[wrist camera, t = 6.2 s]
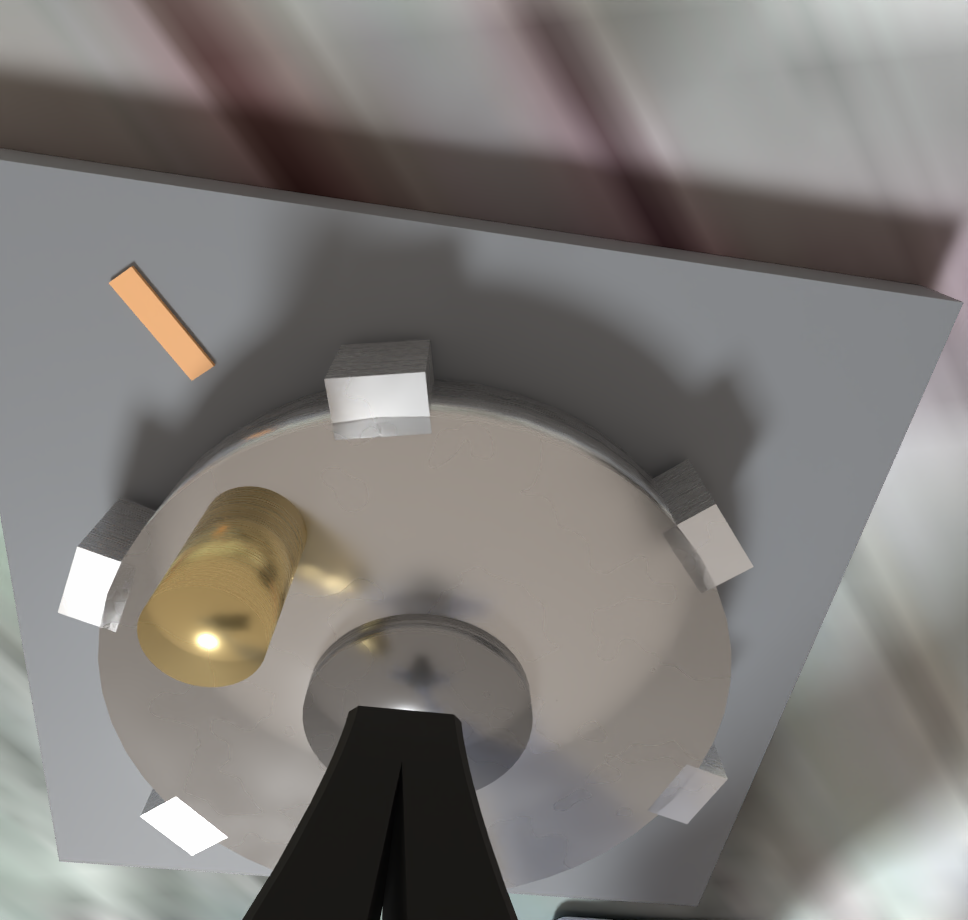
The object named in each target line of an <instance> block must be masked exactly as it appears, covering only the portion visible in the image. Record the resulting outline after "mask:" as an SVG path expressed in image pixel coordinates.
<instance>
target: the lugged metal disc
mask: <svg viewBox="0 0 968 920" xmlns="http://www.w3.org/2000/svg"><path fill="white" fill-rule="evenodd" d="M324 380H325V386H326V391H322V392H318V393H314V394H311V395H307V396H304V397H302V398H299V399H297V400H294V401H292V402H289V403H287V404H284V405H282V406H280V407H277V408H275V409H272V410H270V411H267V412H266V413H264V414H262V415H260V416H259V417H257V418H255V419H254V420H252V421H250V422H248V423H247V424H245V425H243V426H242V427H240V428H238V429H236V430H235V431H233V432H232V433H230V434H229V435H228V436H227V437H225V438H224V439H223V440H221V441H220V442H219V443H218V444H216V445H215V446H214V447H213V448H211V449H210V450H209V451H208V452H206V453H205V454H204V455H203V456H202V457H201V458H200V459H199V460H198V461H197V462H196V463H195V464H194V465H193V466H192V468H191V469H190V470H189V471H188V472H187V473H186V474H185V475H184V476H183V477H182V478H181V479H180V481H179V482H178V483H177V484H176V485H175V487H174V488H173V489H172V491H171V492H170V493H169V495H168V496H167V497H166V499H165V500H164V501H163V503H162V504H161V505H160V507H159V508H158V509H157V511H156V510H154V509H151V508H148V507H146V506H143V505H140V504H138V503H135V502H132V501H130V500H127V499H124V498H122V497H120V498H119V499H118V500H117V501H116V503H115V504H114V505H113V506H112V507H111V508H110V510H109V511H108V512H107V513H106V514H105V515H104V516H103V518H102V519H101V520H100V521H99V522H98V523H97V524H96V526H95V527H94V528H93V529H92V530H91V531H90V532H89V534H88V535H87V536H86V537H85V538H84V539H83V541H82V542H81V543H80V544H79V545H78V546H77V549H76V552H75V556H74V559H73V563H72V566H71V569H70V573H69V576H68V579H67V583H66V586H65V590H64V593H63V596H62V600H61V603H60V606H59V610H58V613H60V614H63V615H66V616H69V617H72V618H75V619H78V620H81V621H84V622H87V623H90V624H93V625H96V626H99V646H98V665H99V673H100V680H101V688H102V694H103V697H104V700H105V703H106V707H107V710H108V713H109V716H110V720H111V723H112V725H113V727H114V729H115V731H116V733H117V735H118V737H119V739H120V741H121V743H122V745H123V747H124V749H125V751H126V753H127V754H128V756H129V757H130V759H131V760H132V762H133V763H134V764H135V766H136V767H137V769H138V770H139V772H140V773H141V775H142V776H143V778H144V779H145V780H146V781H147V782H148V783H149V784H150V785H151V787H152V788H153V789H152V791H151V794H150V796H149V798H148V800H147V802H146V805H145V807H144V809H143V811H142V813H141V816H140V817H142V818H143V819H144V820H146V821H147V822H148V823H150V824H151V825H152V826H154V827H155V828H156V829H158V830H159V831H160V832H162V833H163V834H164V835H166V836H167V837H168V838H170V839H171V840H172V841H174V842H175V843H176V844H178V845H179V846H180V847H182V848H183V849H184V850H186V851H187V852H188V853H190V854H191V855H194V854H196V853H198V852H200V851H202V850H204V849H205V848H207V847H209V846H211V845H213V844H215V843H219V844H221V845H223V846H225V847H226V848H228V849H230V850H232V851H234V852H235V853H237V854H239V855H241V856H243V857H245V858H246V859H248V860H251V861H253V862H255V863H258V864H260V865H262V866H265V867H267V868H269V869H272V870H273V869H274V868H275V866H276V864H277V862H278V861H279V859H280V857H281V855H282V854H283V852H284V850H285V848H286V846H287V844H288V843H289V841H290V839H291V837H292V835H293V834H294V832H295V830H296V828H297V826H298V824H299V823H300V821H301V819H302V817H303V815H304V813H305V812H306V810H307V808H308V806H309V804H310V802H311V800H312V798H313V796H314V794H315V792H316V790H317V788H318V786H319V784H320V782H321V780H322V778H323V776H324V774H325V772H326V770H327V768H328V765H329V763H330V761H331V759H332V756H333V754H334V752H335V749H336V747H337V744H338V742H339V739H340V737H341V734H342V732H343V729H344V726H345V723H346V719H347V716H348V713H349V711H351V710H352V709H354V708H355V707H357V706H369V707H380V708H391V709H402V710H413V711H424V712H435V713H446V714H454V715H455V716H456V717H457V718H458V719H459V720H460V721H461V722H462V731H463V738H464V743H465V749H466V754H467V759H468V763H469V768H470V772H471V776H472V780H473V784H474V788H475V791H476V795H477V799H478V802H479V806H480V809H481V813H482V817H483V820H484V823H485V826H486V830H487V833H488V836H489V839H490V842H491V845H492V848H493V851H494V854H495V857H496V860H497V863H498V866H499V869H500V871H501V874H502V877H503V880H504V883H505V886H506V889H507V888H513V887H517V886H520V885H524V884H527V883H531V882H534V881H538V880H541V879H545V878H548V877H550V876H553V875H556V874H558V873H561V872H564V871H566V870H569V869H571V868H574V867H577V866H579V865H581V864H583V863H585V862H587V861H589V860H591V859H593V858H595V857H597V856H599V855H601V854H603V853H605V852H607V851H608V850H610V849H611V848H613V847H615V846H616V845H618V844H619V843H621V842H623V841H624V840H626V839H627V838H629V837H630V836H632V835H634V834H635V833H636V832H637V831H639V830H640V829H641V828H642V827H644V826H645V825H646V824H647V823H649V822H650V821H651V820H652V819H654V818H655V817H656V816H657V815H661V816H664V817H667V818H670V819H673V820H676V821H679V822H682V823H685V824H688V823H689V822H690V820H691V819H692V818H693V817H694V816H695V815H696V814H697V813H698V812H699V810H700V809H701V808H702V807H703V806H704V805H705V804H706V803H707V802H708V800H709V799H710V798H711V797H712V796H713V795H714V794H715V793H716V792H717V790H718V789H719V788H720V787H721V786H722V785H723V784H724V783H725V782H726V781H727V779H728V778H727V776H726V773H725V770H724V768H723V765H722V763H721V760H720V757H719V755H718V752H717V750H716V747H715V744H714V739H715V737H716V734H717V731H718V729H719V726H720V723H721V721H722V718H723V715H724V713H725V708H726V703H727V698H728V693H729V688H730V683H731V645H730V638H729V631H728V624H727V618H726V615H725V612H724V609H723V606H722V603H721V600H720V597H719V594H718V591H717V588H716V586H717V585H719V584H721V583H723V582H725V581H727V580H729V579H731V578H733V577H735V576H737V575H739V574H741V573H743V572H745V571H747V570H749V569H750V568H752V567H754V566H753V565H752V563H751V561H750V560H749V558H748V556H747V555H746V553H745V552H744V550H743V548H742V547H741V545H740V543H739V542H738V540H737V538H736V537H735V535H734V533H733V532H732V530H731V528H730V527H729V525H728V523H727V522H726V520H725V518H724V517H723V515H722V513H721V512H720V510H719V508H718V507H717V505H716V503H715V502H714V500H713V499H712V497H711V495H710V494H709V492H708V491H707V489H706V487H705V486H704V484H703V482H702V481H701V479H700V478H699V476H698V474H697V473H696V471H695V470H694V468H693V466H692V465H691V463H690V461H689V460H688V459H687V460H685V461H683V462H682V463H680V464H678V465H676V466H674V467H673V468H671V469H669V470H667V471H666V472H664V473H662V474H660V475H658V476H657V477H655V478H653V477H652V476H651V475H650V474H649V473H648V472H647V471H646V470H645V469H644V468H643V467H642V466H641V465H640V464H639V463H637V462H636V461H635V460H634V459H633V458H632V457H631V456H630V455H629V454H628V453H627V452H626V451H625V450H623V449H622V448H621V447H619V446H618V445H617V444H615V443H614V442H613V441H611V440H610V439H608V438H607V437H606V436H604V435H603V434H602V433H600V432H599V431H598V430H596V429H595V428H593V427H591V426H589V425H587V424H585V423H584V422H582V421H580V420H578V419H576V418H574V417H573V416H571V415H569V414H567V413H565V412H563V411H562V410H560V409H557V408H555V407H552V406H549V405H547V404H544V403H542V402H539V401H536V400H534V399H531V398H529V397H526V396H523V395H521V394H517V393H513V392H509V391H505V390H501V389H497V388H492V387H488V386H484V385H480V384H474V383H465V382H457V381H448V380H440V379H434V373H433V363H432V353H431V343H430V339H421V340H407V341H392V342H377V343H363V344H348V345H341V347H340V349H339V351H338V353H337V355H336V357H335V359H334V361H333V363H332V365H331V367H330V369H329V371H328V372H327V374H326V376H325V378H324Z"/></svg>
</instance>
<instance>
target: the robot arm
mask: <svg viewBox="0 0 968 920" xmlns="http://www.w3.org/2000/svg"><path fill="white" fill-rule="evenodd" d="M382 906H383V913H382V920H518V919H517V916H516V913H515V911H514V908H513V905H512V903H511V900H510V897H509V895H508V892H507V889H506V886H505V883H504V880H503V877H502V874H501V871H500V869H499V866H498V863H497V860H496V857H495V854H494V851H493V848H492V845H491V842H490V839H489V836H488V833H487V830H486V826H485V823H484V820H483V817H482V813H481V809H480V806H479V802H478V799H477V795H476V791H475V788H474V784H473V780H472V776H471V772H470V768H469V763H468V759H467V754H466V749H465V743H464V738H463V731H462V722H461V721H460V720H459V719H458V718H457V717H456V716H455V715H454V714H446V713H435V712H424V711H413V710H402V709H391V708H380V707H369V706H357V707H355V708H354V709H352V710H351V711H349V713H348V716H347V719H346V723H345V726H344V729H343V732H342V734H341V737H340V739H339V742H338V744H337V747H336V749H335V752H334V754H333V756H332V759H331V761H330V763H329V765H328V768H327V770H326V772H325V774H324V776H323V778H322V780H321V782H320V784H319V786H318V788H317V790H316V792H315V794H314V796H313V798H312V800H311V802H310V804H309V806H308V808H307V810H306V812H305V813H304V815H303V817H302V819H301V821H300V823H299V824H298V826H297V828H296V830H295V832H294V834H293V835H292V837H291V839H290V841H289V843H288V844H287V846H286V848H285V850H284V852H283V854H282V855H281V857H280V859H279V861H278V862H277V864H276V866H275V868H274V869H273V871H272V873H271V874H270V876H269V878H268V879H267V881H266V882H265V884H264V886H263V887H262V889H261V891H260V892H259V894H258V895H257V897H256V899H255V900H254V902H253V903H252V905H251V907H250V908H249V910H248V911H247V913H246V915H245V916H244V918H243V919H242V920H380V917H381V911H382ZM557 920H611V919H596V918H582V917H562V918H559V919H557Z"/></svg>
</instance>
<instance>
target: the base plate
mask: <svg viewBox="0 0 968 920" xmlns="http://www.w3.org/2000/svg"><path fill="white" fill-rule="evenodd" d="M962 304H963V302H961V301H958V300H956V299H954V298H951V297H949V296H946V295H944V294H941V293H939V292H936V291H934V290H931V289H929V288H926V287H924V286H920V285H914V284H907V283H900V282H894V281H887V280H880V279H874V278H867V277H860V276H853V275H847V274H840V273H833V272H827V271H820V270H813V269H807V268H800V267H793V266H786V265H780V264H773V263H766V262H760V261H753V260H746V259H740V258H733V257H726V256H719V255H713V254H706V253H699V252H693V251H686V250H679V249H673V248H666V247H659V246H653V245H646V244H639V243H632V242H626V241H619V240H612V239H606V238H599V237H592V236H586V235H579V234H572V233H565V232H559V231H552V230H545V229H539V228H532V227H525V226H519V225H512V224H505V223H498V222H492V221H485V220H478V219H472V218H465V217H458V216H452V215H445V214H438V213H432V212H425V211H418V210H411V209H405V208H398V207H391V206H385V205H378V204H371V203H365V202H358V201H351V200H344V199H338V198H331V197H324V196H318V195H311V194H304V193H298V192H291V191H284V190H277V189H271V188H264V187H257V186H251V185H244V184H237V183H231V182H224V181H217V180H211V179H204V178H197V177H190V176H184V175H177V174H170V173H164V172H157V171H150V170H144V169H137V168H130V167H123V166H117V165H110V164H103V163H97V162H90V161H83V160H77V159H70V158H63V157H56V156H50V155H43V154H36V153H30V152H23V151H16V150H10V149H3V148H0V516H1V522H2V528H3V534H4V539H5V545H6V551H7V557H8V563H9V569H10V575H11V581H12V586H13V592H14V598H15V604H16V610H17V616H18V622H19V628H20V633H21V639H22V645H23V651H24V657H25V663H26V669H27V675H28V680H29V686H30V692H31V698H32V704H33V710H34V716H35V722H36V727H37V733H38V739H39V745H40V751H41V757H42V763H43V769H44V774H45V780H46V786H47V792H48V798H49V804H50V810H51V815H52V821H53V827H54V833H55V839H56V845H57V851H58V857H59V861H62V862H76V863H90V864H105V865H119V866H133V867H147V868H161V869H175V870H189V871H203V872H217V873H232V874H246V875H260V876H270V874H271V873H272V871H273V870H272V869H269V868H267V867H265V866H262V865H260V864H258V863H255V862H253V861H251V860H248V859H246V858H245V857H243V856H241V855H239V854H237V853H235V852H234V851H232V850H230V849H228V848H226V847H225V846H223V845H221V844H219V843H215V844H213V845H211V846H209V847H207V848H205V849H204V850H202V851H200V852H198V853H196V854H194V855H191V854H190V853H188V852H187V851H186V850H184V849H183V848H182V847H180V846H179V845H178V844H176V843H175V842H174V841H172V840H171V839H170V838H168V837H167V836H166V835H164V834H163V833H162V832H160V831H159V830H158V829H156V828H155V827H154V826H152V825H151V824H150V823H148V822H147V821H146V820H144V819H143V818H142V817H140V816H141V813H142V811H143V809H144V807H145V805H146V802H147V800H148V798H149V796H150V794H151V791H152V789H153V788H152V787H151V785H150V784H149V783H148V782H147V781H146V780H145V779H144V778H143V776H142V775H141V773H140V772H139V770H138V769H137V767H136V766H135V764H134V763H133V762H132V760H131V759H130V757H129V756H128V754H127V753H126V751H125V749H124V747H123V745H122V743H121V741H120V739H119V737H118V735H117V733H116V731H115V729H114V727H113V725H112V723H111V720H110V716H109V713H108V710H107V707H106V703H105V700H104V697H103V694H102V688H101V680H100V673H99V665H98V646H99V626H96V625H93V624H90V623H87V622H84V621H81V620H78V619H75V618H72V617H69V616H66V615H63V614H60V613H58V610H59V606H60V603H61V600H62V596H63V593H64V590H65V586H66V583H67V579H68V576H69V573H70V569H71V566H72V563H73V559H74V556H75V552H76V549H77V546H78V545H79V544H80V543H81V542H82V541H83V539H84V538H85V537H86V536H87V535H88V534H89V532H90V531H91V530H92V529H93V528H94V527H95V526H96V524H97V523H98V522H99V521H100V520H101V519H102V518H103V516H104V515H105V514H106V513H107V512H108V511H109V510H110V508H111V507H112V506H113V505H114V504H115V503H116V501H117V500H118V499H119V498H120V497H122V498H124V499H127V500H130V501H132V502H135V503H138V504H140V505H143V506H146V507H148V508H151V509H154V510H156V511H157V509H158V508H159V507H160V505H161V504H162V503H163V501H164V500H165V499H166V497H167V496H168V495H169V493H170V492H171V491H172V489H173V488H174V487H175V485H176V484H177V483H178V482H179V481H180V479H181V478H182V477H183V476H184V475H185V474H186V473H187V472H188V471H189V470H190V469H191V468H192V466H193V465H194V464H195V463H196V462H197V461H198V460H199V459H200V458H201V457H202V456H203V455H204V454H205V453H206V452H208V451H209V450H210V449H211V448H213V447H214V446H215V445H216V444H218V443H219V442H220V441H221V440H223V439H224V438H225V437H227V436H228V435H229V434H230V433H232V432H233V431H235V430H236V429H238V428H240V427H242V426H243V425H245V424H247V423H248V422H250V421H252V420H254V419H255V418H257V417H259V416H260V415H262V414H264V413H266V412H267V411H270V410H272V409H275V408H277V407H280V406H282V405H284V404H287V403H289V402H292V401H294V400H297V399H299V398H302V397H304V396H307V395H311V394H314V393H318V392H322V391H326V386H325V380H324V378H325V376H326V374H327V372H328V371H329V369H330V367H331V365H332V363H333V361H334V359H335V357H336V355H337V353H338V351H339V349H340V347H341V345H348V344H363V343H377V342H392V341H407V340H421V339H430V343H431V353H432V363H433V373H434V379H440V380H448V381H457V382H465V383H474V384H480V385H484V386H488V387H492V388H497V389H501V390H505V391H509V392H513V393H517V394H521V395H523V396H526V397H529V398H531V399H534V400H536V401H539V402H542V403H544V404H547V405H549V406H552V407H555V408H557V409H560V410H562V411H563V412H565V413H567V414H569V415H571V416H573V417H574V418H576V419H578V420H580V421H582V422H584V423H585V424H587V425H589V426H591V427H593V428H595V429H596V430H598V431H599V432H600V433H602V434H603V435H604V436H606V437H607V438H608V439H610V440H611V441H613V442H614V443H615V444H617V445H618V446H619V447H621V448H622V449H623V450H625V451H626V452H627V453H628V454H629V455H630V456H631V457H632V458H633V459H634V460H635V461H636V462H637V463H639V464H640V465H641V466H642V467H643V468H644V469H645V470H646V471H647V472H648V473H649V474H650V475H651V476H652V477H653V478H655V477H657V476H658V475H660V474H662V473H664V472H666V471H667V470H669V469H671V468H673V467H674V466H676V465H678V464H680V463H682V462H683V461H685V460H687V459H688V460H689V461H690V463H691V465H692V466H693V468H694V470H695V471H696V473H697V474H698V476H699V478H700V479H701V481H702V482H703V484H704V486H705V487H706V489H707V491H708V492H709V494H710V495H711V497H712V499H713V500H714V502H715V503H716V505H717V507H718V508H719V510H720V512H721V513H722V515H723V517H724V518H725V520H726V522H727V523H728V525H729V527H730V528H731V530H732V532H733V533H734V535H735V537H736V538H737V540H738V542H739V543H740V545H741V547H742V548H743V550H744V552H745V553H746V555H747V556H748V558H749V560H750V561H751V563H752V565H753V566H754V567H752V568H750V569H749V570H747V571H745V572H743V573H741V574H739V575H737V576H735V577H733V578H731V579H729V580H727V581H725V582H723V583H721V584H719V585H717V586H716V588H717V591H718V594H719V597H720V600H721V603H722V606H723V609H724V612H725V615H726V618H727V624H728V631H729V638H730V645H731V683H730V688H729V693H728V698H727V703H726V708H725V713H724V715H723V718H722V721H721V723H720V726H719V729H718V731H717V734H716V737H715V739H714V744H715V747H716V750H717V752H718V755H719V757H720V760H721V763H722V765H723V768H724V770H725V773H726V776H727V778H728V779H727V781H726V782H725V783H724V784H723V785H722V786H721V787H720V788H719V789H718V790H717V792H716V793H715V794H714V795H713V796H712V797H711V798H710V799H709V800H708V802H707V803H706V804H705V805H704V806H703V807H702V808H701V809H700V810H699V812H698V813H697V814H696V815H695V816H694V817H693V818H692V819H691V820H690V822H689V823H688V824H685V823H682V822H679V821H676V820H673V819H670V818H667V817H664V816H661V815H657V816H656V817H655V818H654V819H652V820H651V821H650V822H649V823H647V824H646V825H645V826H644V827H642V828H641V829H640V830H639V831H637V832H636V833H635V834H634V835H632V836H630V837H629V838H627V839H626V840H624V841H623V842H621V843H619V844H618V845H616V846H615V847H613V848H611V849H610V850H608V851H607V852H605V853H603V854H601V855H599V856H597V857H595V858H593V859H591V860H589V861H587V862H585V863H583V864H581V865H579V866H577V867H574V868H571V869H569V870H566V871H564V872H561V873H558V874H556V875H553V876H550V877H548V878H545V879H541V880H538V881H534V882H531V883H527V884H524V885H520V886H517V887H513V888H507V892H508V893H514V894H528V895H542V896H556V897H570V898H584V899H599V900H613V901H627V902H641V903H655V904H669V905H683V906H697V907H698V904H699V902H700V900H701V897H702V895H703V893H704V891H705V888H706V886H707V884H708V882H709V879H710V877H711V875H712V872H713V870H714V868H715V866H716V863H717V861H718V859H719V857H720V854H721V852H722V850H723V847H724V845H725V843H726V841H727V838H728V836H729V834H730V832H731V829H732V827H733V825H734V822H735V820H736V818H737V816H738V813H739V811H740V809H741V807H742V804H743V802H744V800H745V797H746V795H747V793H748V791H749V788H750V786H751V784H752V782H753V779H754V777H755V775H756V772H757V770H758V768H759V766H760V763H761V761H762V759H763V757H764V754H765V752H766V750H767V747H768V745H769V743H770V741H771V738H772V736H773V734H774V732H775V729H776V727H777V725H778V723H779V720H780V718H781V716H782V713H783V711H784V709H785V707H786V704H787V702H788V700H789V698H790V695H791V693H792V691H793V688H794V686H795V684H796V682H797V679H798V677H799V675H800V673H801V670H802V668H803V666H804V663H805V661H806V659H807V657H808V654H809V652H810V650H811V648H812V645H813V643H814V641H815V638H816V636H817V634H818V632H819V629H820V627H821V625H822V623H823V620H824V618H825V616H826V613H827V611H828V609H829V607H830V604H831V602H832V600H833V598H834V595H835V593H836V591H837V588H838V586H839V584H840V582H841V579H842V577H843V575H844V573H845V570H846V568H847V566H848V563H849V561H850V559H851V557H852V554H853V552H854V550H855V548H856V545H857V543H858V541H859V538H860V536H861V534H862V532H863V529H864V527H865V525H866V523H867V520H868V518H869V516H870V513H871V511H872V509H873V507H874V504H875V502H876V500H877V498H878V495H879V493H880V491H881V489H882V486H883V484H884V482H885V479H886V477H887V475H888V473H889V470H890V468H891V466H892V464H893V461H894V459H895V457H896V454H897V452H898V450H899V448H900V445H901V443H902V441H903V439H904V436H905V434H906V432H907V429H908V427H909V425H910V423H911V420H912V418H913V416H914V414H915V411H916V409H917V407H918V404H919V402H920V400H921V398H922V395H923V393H924V391H925V389H926V386H927V384H928V382H929V379H930V377H931V375H932V373H933V370H934V368H935V366H936V364H937V361H938V359H939V357H940V354H941V352H942V350H943V348H944V345H945V343H946V341H947V339H948V336H949V334H950V332H951V329H952V327H953V325H954V323H955V320H956V318H957V316H958V314H959V311H960V309H961V307H962Z"/></svg>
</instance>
